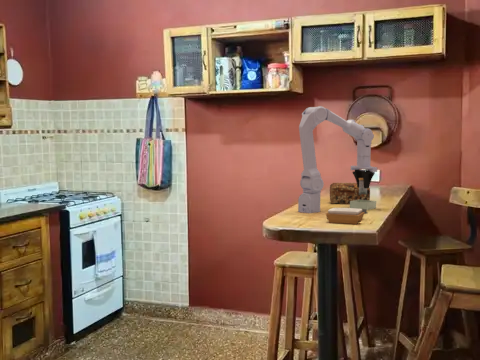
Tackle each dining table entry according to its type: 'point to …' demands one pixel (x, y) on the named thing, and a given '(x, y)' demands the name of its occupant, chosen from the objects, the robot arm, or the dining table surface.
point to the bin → (363, 204)
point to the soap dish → (344, 215)
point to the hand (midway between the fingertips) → (363, 187)
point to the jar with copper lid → (362, 187)
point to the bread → (346, 193)
